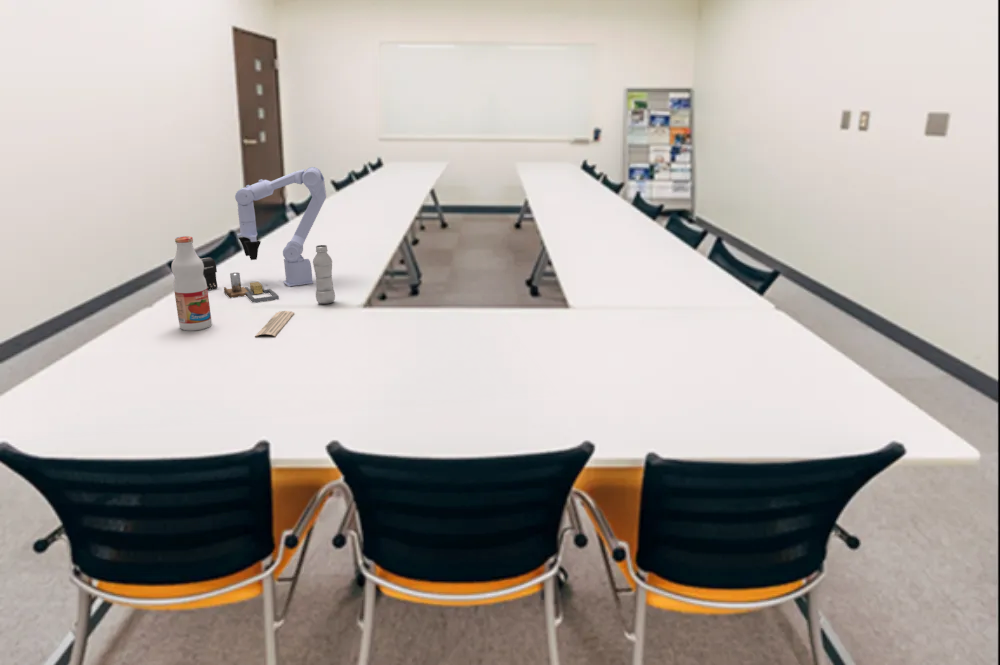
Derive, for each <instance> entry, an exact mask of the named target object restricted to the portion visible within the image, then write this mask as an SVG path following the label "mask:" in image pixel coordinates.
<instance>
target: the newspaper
mask: <svg viewBox="0 0 1000 665" xmlns="http://www.w3.org/2000/svg"><path fill="white" fill-rule="evenodd" d="M294 316H295V312H293V311H290V310H281V311H278V312H275V314H274V315H273V316H272V317H271V318H270V320H268V321H267V323H266V324H265V325H264V326H263V327H262V328H261V329H260V330H259V332H257V333H256V335H255V336H254V337H255V338H258V337H259V336H262V335H268V336H269V335H270V336H273V338H276V337H277V336H278V334H280V332H281V331H282V330H283V329H284V327H285V326H286V325H287V324H288V322H290V320H291V319H292V318H293V317H294Z"/></svg>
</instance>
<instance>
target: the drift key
mask: <svg viewBox="0 0 1000 665" xmlns="http://www.w3.org/2000/svg"><path fill="white" fill-rule="evenodd" d="M262 287H263V285H262V284H261V283H260V282H259V281H256V282H255V281H253V282H249V289H250V290H251V291H253V295H259V294H264V293H263V289H262Z"/></svg>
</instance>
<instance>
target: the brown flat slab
mask: <svg viewBox="0 0 1000 665" xmlns="http://www.w3.org/2000/svg"><path fill="white" fill-rule="evenodd" d="M241 290H242V291H241V292H232V288H227V287H226V286H225V287H223V292H224V293H225V295H226V294H227V295H228V296H229V297H233V298H238V296H241V297H245V296H244V295H246V294H245V292H249V291H248V290H247V289H245V287H244V286H241ZM227 295H226V296H227ZM228 296H227V297H228ZM229 297H228V298H229Z"/></svg>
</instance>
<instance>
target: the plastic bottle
mask: <svg viewBox="0 0 1000 665" xmlns="http://www.w3.org/2000/svg"><path fill="white" fill-rule="evenodd" d="M315 253H316V254H315V256H314V257H313V260H312V265H313V269H314V274H315V281H316V283H315V286H316V287H315V288H316V289H315V299H316V302H317V303H318V304H321V305H323V304H324V305H327V304H332V303H334V302H335V299H336V294H335V289H334V284H333V260H332V257H331V256H330V255H329V253H328V245H326V244H320V245H316V246H315Z"/></svg>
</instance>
